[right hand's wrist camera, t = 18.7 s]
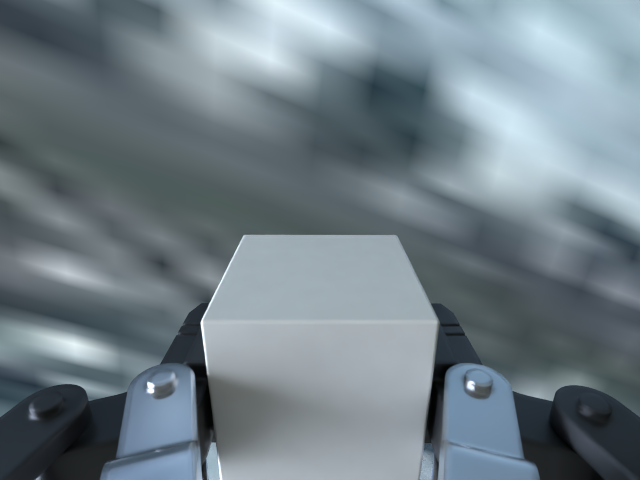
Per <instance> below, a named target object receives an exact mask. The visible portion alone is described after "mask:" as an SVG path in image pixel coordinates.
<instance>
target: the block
mask: <svg viewBox="0 0 640 480" xmlns="http://www.w3.org/2000/svg"><path fill="white" fill-rule="evenodd" d="M439 324H440V322H439V320H438V317H437V315H436V313H435V311H434V309H433V307H432V305H431V303H430V301H429V299H428V297H427V295H426V293H425V291H424V289H423V287H422V285H421V283H420V281H419V279H418V277H417V275H416V273H415V271H414V269H413V267H412V265H411V263H410V261H409V259H408V257H407V255H406V253H405V251H404V249H403V247H402V245H401V243H400V241H399V239H398V236H396V235H244V236H243V238H242V240H241V242H240V244H239V246H238V248H237V250H236V252H235V254H234V256H233V258H232V260H231V262H230V264H229V266H228V268H227V270H226V272H225V274H224V276H223V278H222V280H221V282H220V284H219V286H218V288H217V290H216V292H215V294H214V296H213V298H212V300H211V302H210V304H209V306H208V308H207V310H206V312H205V314H204V316H203V318H202V320H201V329H202V337H203V345H204V352H205V360H206V368H207V376H208V384H209V392H210V400H211V408H212V416H213V424H214V431H215V439H216V447H217V455H218V463H219V471H220V479H221V480H420V473H421V465H422V457H423V450H424V442H425V434H426V426H427V418H428V410H429V403H430V395H431V387H432V379H433V371H434V363H435V356H436V348H437V340H438V332H439Z"/></svg>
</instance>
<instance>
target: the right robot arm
mask: <svg viewBox="0 0 640 480" xmlns="http://www.w3.org/2000/svg"><path fill="white" fill-rule="evenodd" d="M209 304H210V303H201V304H200V305H199V306H198V307H196V308H195V309H194V310H192V311H191V312H190V313H189V314H188V316H187V318H186V319H185V321H184V323H183V326H182V327H181V328H180V330H179V332H178V335H176V337H175V339H174V341H173V343H172V344H171V346H170V348H169V350H168V351H167V353H166V355H165V357H164V359H163V360H162V362H161V364H160V365H157V366H154V367H151V368H149V369H147V370H145V371H144V372H142V373H141V374H139V375H138V376H137V377H136V378H135V379H134V380H133V381H132V382H131V384H130V386H129V388H128V392H125V393H122V394H118V395H114V396H110V397H105V398H101V399H96V400H92V401H88V397H87V394H86V391H85V390H84V389H83V388H82V387H80V386H77V385H72V384H63V385H57V386H52V387H49V388H46V389H43V390H40V391H38V392H36V393H34V394H32V395H31V396H29V397H27V398H26V399H24V400H23V401H21V402H20V403H19V404H17V405H16V406H15V407H13V408H12V409H11V410H9V411H8V412H7V413H6V414H4V415H3V416H2V417H0V480H208V466H207V459H206V458H207V455H208V452H209V448H210V445H211V442H216V439H215V431H214V424H213V416H212V408H211V400H210V392H209V384H208V376H207V368H206V360H205V352H204V345H203V337H202V329H201V320H202V318H203V316H204V314H205V312H206V310H207V308H208V306H209ZM431 305H432V307H433V309H434V311H435V313H436V315H437V317H438V320H439V322H440V324H439V332H438V340H437V348H436V356H435V363H434V371H433V379H432V387H431V395H430V403H429V410H428V418H427V426H426V434H425V442H424V443H432V446H433V449H434V459H433V466H432V480H640V417H638V416H637V415H636V414H635V413H633V412H632V411H631V410H629V409H628V408H627V407H625V406H624V405H623V404H621V403H620V402H619V401H617V400H616V399H614V398H612V397H611V396H609V395H607V394H605V393H603V392H601V391H598V390H595V389H592V388H589V387H584V386H576V385H571V386H565V387H562V388H560V389H558V390H557V392H556V393H555V396H554V400H553V401H548V400H544V399H539V398H535V397H531V396H526V395H523V394H519V393H516V392H514V391H512V388H511V385H510V384H509V382H508V381H507V380H506V379H505V378H504V377H503V376H502V375H501V374H500V373H498V372H497V371H495V370H493V369H491V368H489V367H486V366H483V365H482V363H481V361H480V359H479V358H478V356H477V354H476V352H475V350H474V349H473V347H472V345H471V343H470V342H469V340H468V338H467V336H465V333H464V331H463V329H462V328H461V326H459V322H458V321H457V319H456V317H455V315H454V314H453V313H452V312H451V311H450V310H448V309H447V308H446V307H444V306H443V305H442V304H431Z"/></svg>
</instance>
